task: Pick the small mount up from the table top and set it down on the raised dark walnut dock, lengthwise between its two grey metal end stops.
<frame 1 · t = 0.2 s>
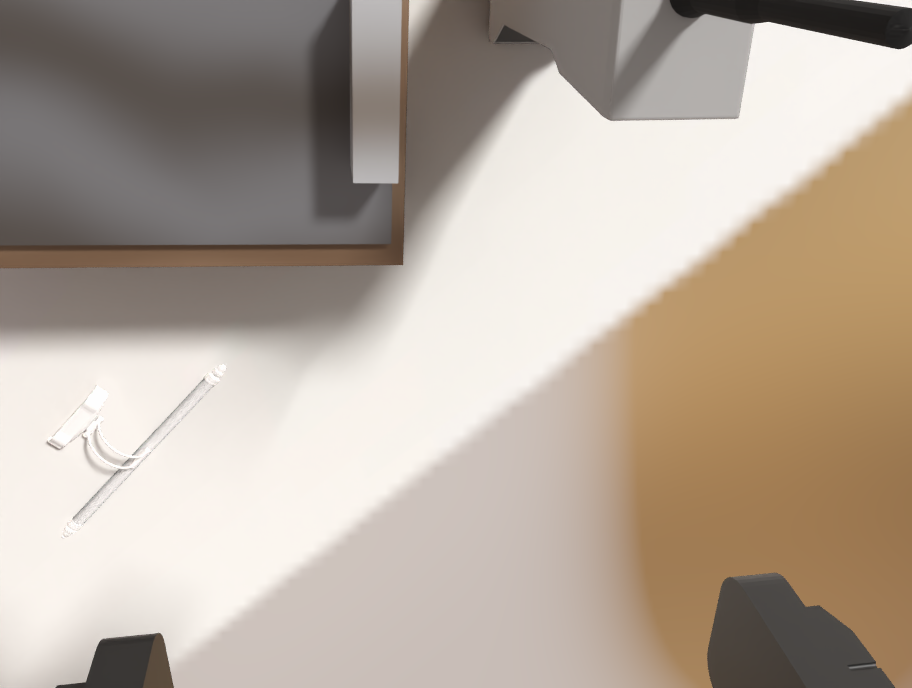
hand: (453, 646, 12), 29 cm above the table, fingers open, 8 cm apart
picture light: (113, 427, 42), on the table
dock: (172, 41, 34), on the table
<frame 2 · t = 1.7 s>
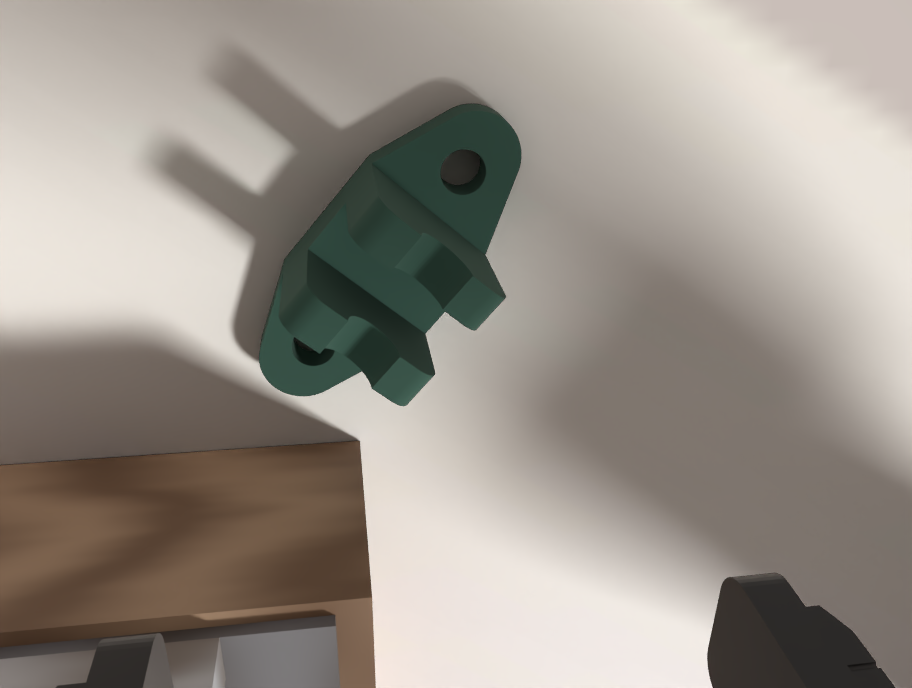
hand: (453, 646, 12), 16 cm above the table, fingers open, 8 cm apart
mount: (382, 246, 26), on the table
dock: (187, 647, 32), on the table
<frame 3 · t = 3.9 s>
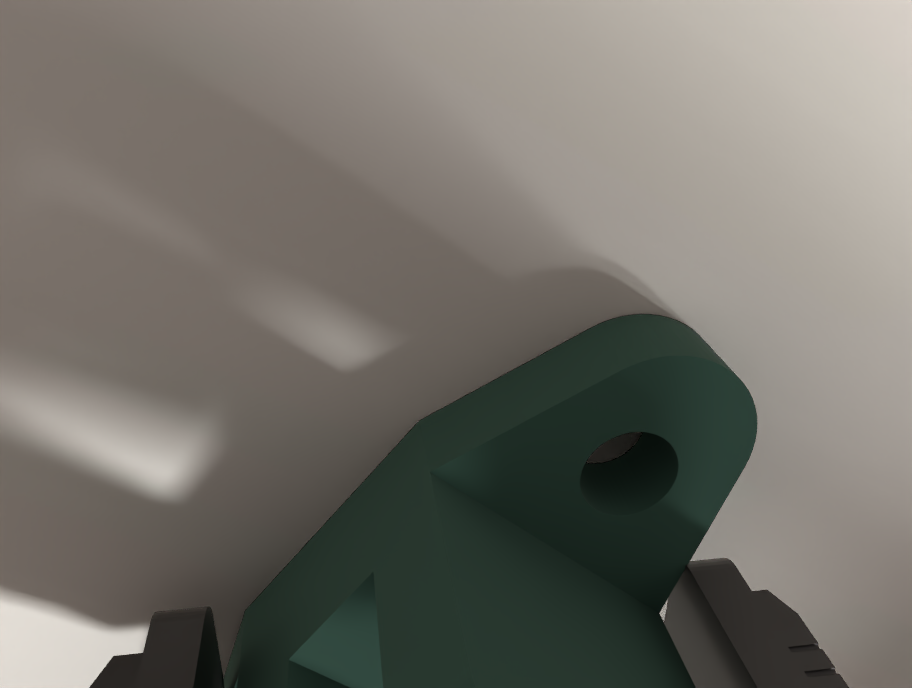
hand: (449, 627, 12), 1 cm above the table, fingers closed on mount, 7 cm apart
mount: (441, 574, 13), on the table, touching gripper
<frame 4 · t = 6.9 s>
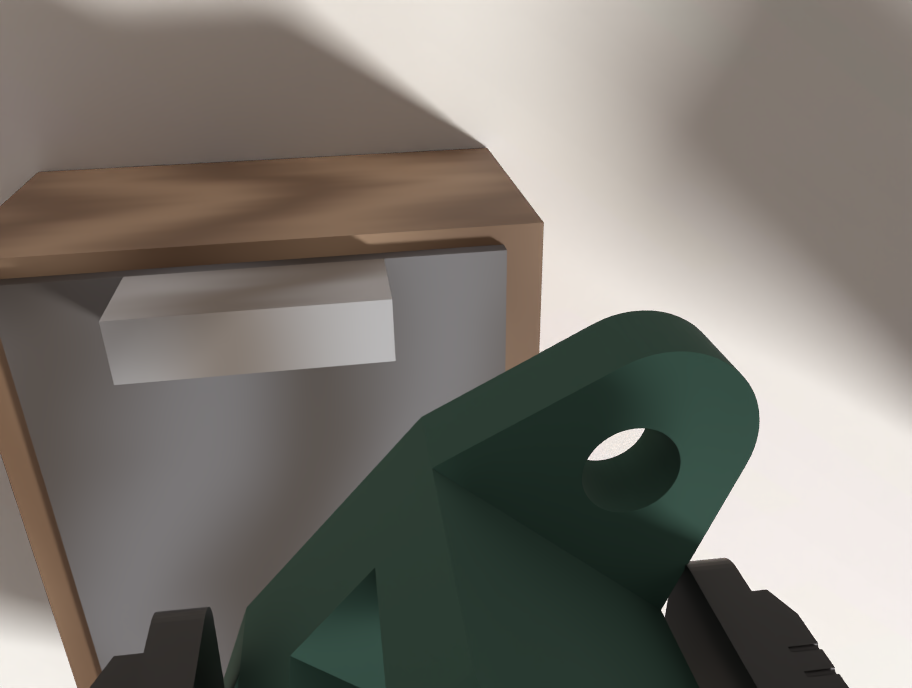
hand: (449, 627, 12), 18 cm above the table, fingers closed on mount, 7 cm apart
mount: (443, 571, 13), point 17 cm above the table, touching gripper
dock: (299, 401, 30), on the table
when the fingers open (10 cm above the table, at t = 9.8 s): mount drops 1 cm, resting on dock.
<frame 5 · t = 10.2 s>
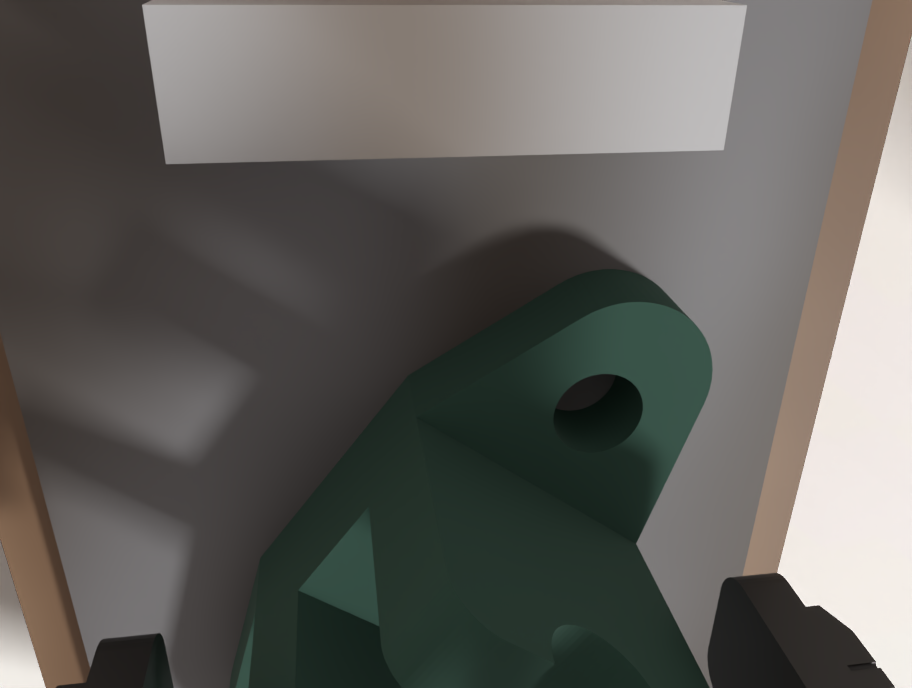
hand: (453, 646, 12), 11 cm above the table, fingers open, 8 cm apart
mount: (438, 519, 14), point 8 cm above the table, touching dock
dock: (393, 326, 21), on the table
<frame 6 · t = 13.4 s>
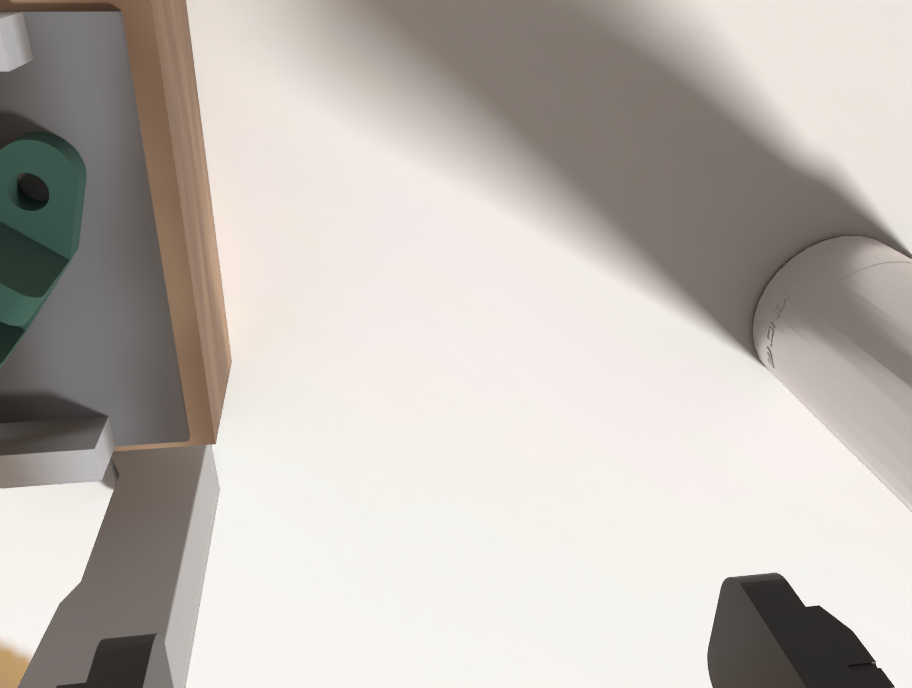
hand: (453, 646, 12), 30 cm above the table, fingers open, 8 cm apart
vintage mobile phone: (168, 461, 45), on the table
dock: (51, 196, 37), on the table
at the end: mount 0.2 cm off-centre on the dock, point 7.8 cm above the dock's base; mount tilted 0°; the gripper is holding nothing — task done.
